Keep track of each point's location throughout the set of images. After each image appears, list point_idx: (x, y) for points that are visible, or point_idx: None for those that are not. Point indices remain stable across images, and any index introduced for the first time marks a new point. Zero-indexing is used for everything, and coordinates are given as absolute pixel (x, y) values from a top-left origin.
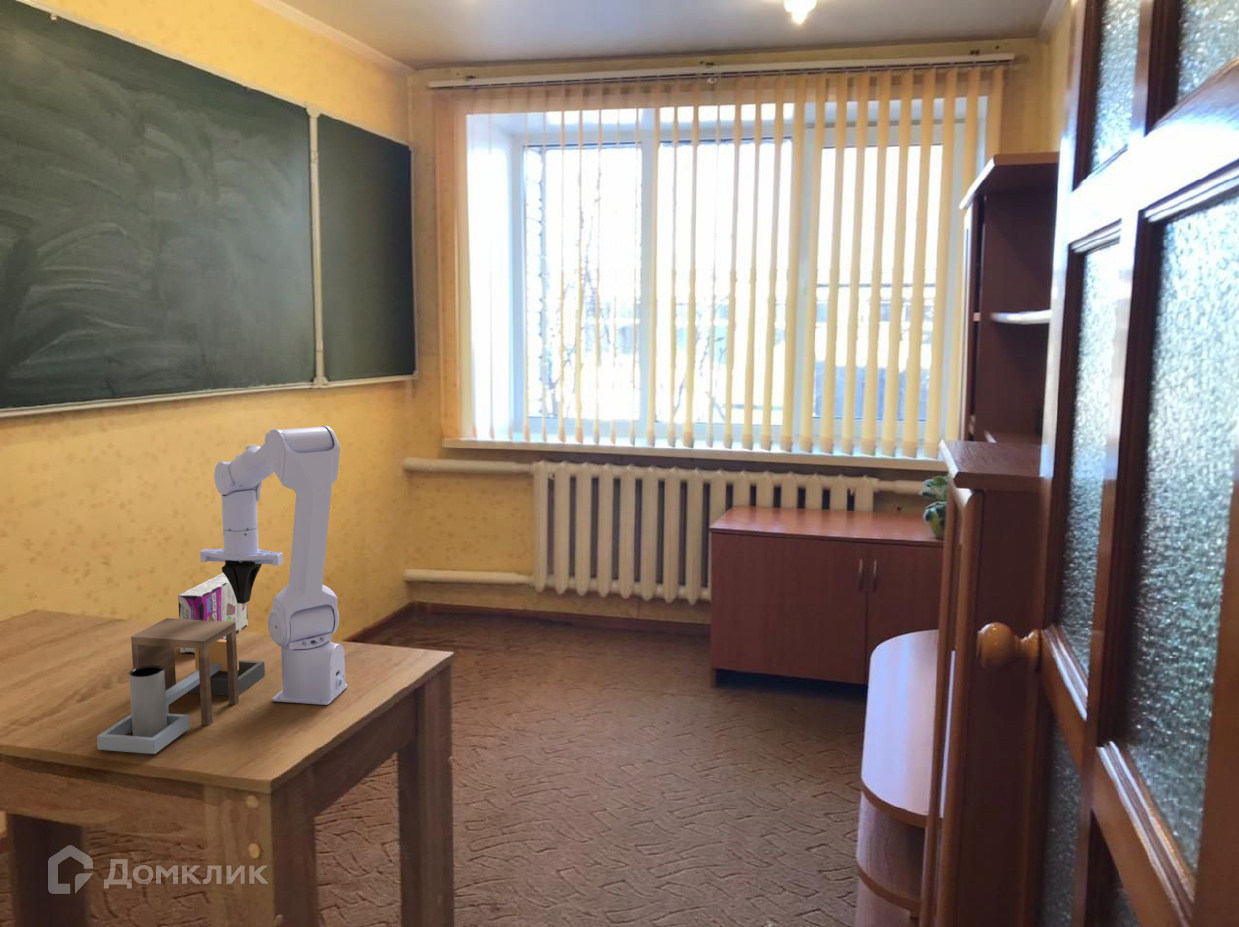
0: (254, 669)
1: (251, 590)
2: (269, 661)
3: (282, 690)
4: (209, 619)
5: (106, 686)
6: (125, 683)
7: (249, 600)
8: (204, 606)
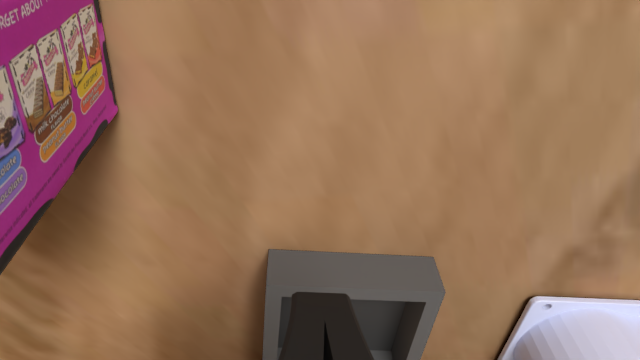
0: (428, 331)
1: (370, 354)
2: (415, 153)
3: (510, 348)
4: (47, 135)
5: (32, 342)
6: (64, 326)
7: (349, 300)
8: (7, 238)
